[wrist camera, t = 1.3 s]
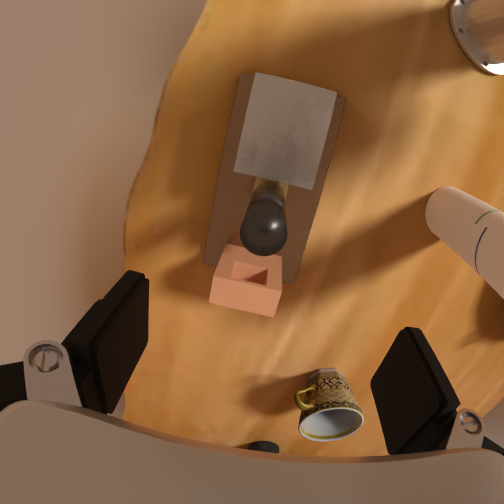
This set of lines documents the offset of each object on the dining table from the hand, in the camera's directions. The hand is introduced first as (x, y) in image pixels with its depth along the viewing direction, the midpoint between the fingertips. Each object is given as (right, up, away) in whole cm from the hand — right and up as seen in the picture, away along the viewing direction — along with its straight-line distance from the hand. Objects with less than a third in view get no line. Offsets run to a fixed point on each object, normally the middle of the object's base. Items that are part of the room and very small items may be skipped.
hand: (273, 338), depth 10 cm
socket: (-1, +2, +28) cm, 28 cm away
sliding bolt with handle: (+2, +12, +18) cm, 22 cm away
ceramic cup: (+11, -18, +37) cm, 43 cm away
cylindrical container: (+25, +8, +24) cm, 36 cm away
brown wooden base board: (+1, +11, +25) cm, 27 cm away
